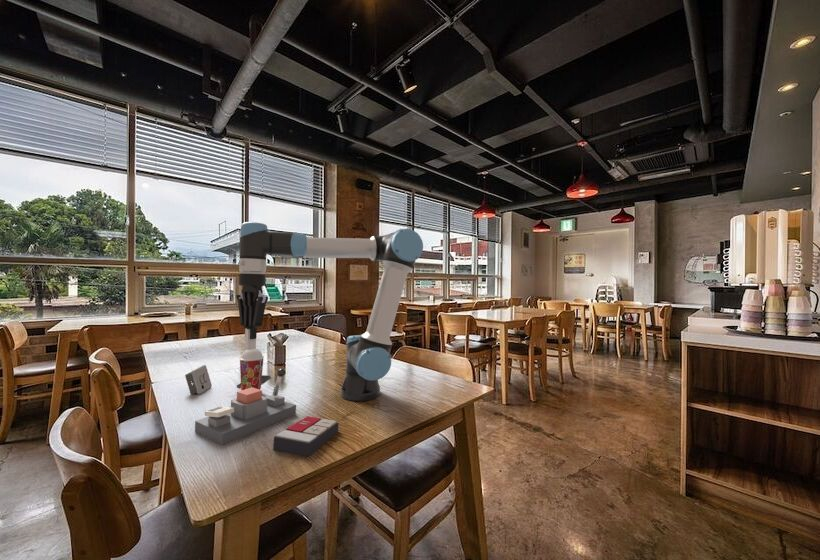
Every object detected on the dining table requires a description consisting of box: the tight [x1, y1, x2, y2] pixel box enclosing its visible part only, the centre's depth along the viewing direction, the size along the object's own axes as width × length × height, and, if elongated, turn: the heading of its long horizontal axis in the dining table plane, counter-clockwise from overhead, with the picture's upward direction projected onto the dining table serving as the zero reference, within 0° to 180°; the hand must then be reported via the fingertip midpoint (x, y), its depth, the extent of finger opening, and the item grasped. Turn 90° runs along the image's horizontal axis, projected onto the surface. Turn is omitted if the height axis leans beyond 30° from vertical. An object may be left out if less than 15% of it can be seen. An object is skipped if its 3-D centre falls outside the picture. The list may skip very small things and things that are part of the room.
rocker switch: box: [204, 406, 234, 417], centre depth 93 cm, size 4×7×1 cm, turn 59°
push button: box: [236, 387, 263, 404], centre depth 100 cm, size 5×5×4 cm
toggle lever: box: [272, 368, 287, 396], centre depth 107 cm, size 3×3×10 cm
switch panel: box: [194, 394, 297, 446], centre depth 100 cm, size 24×14×7 cm, turn 149°
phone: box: [236, 374, 271, 389], centre depth 138 cm, size 8×1×15 cm
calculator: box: [272, 416, 339, 458], centre depth 90 cm, size 11×4×15 cm
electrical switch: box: [184, 364, 213, 395], centre depth 126 cm, size 9×5×9 cm, turn 7°
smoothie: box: [239, 348, 264, 391], centre depth 125 cm, size 8×8×20 cm
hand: (250, 349), depth 100 cm, fingers closed
